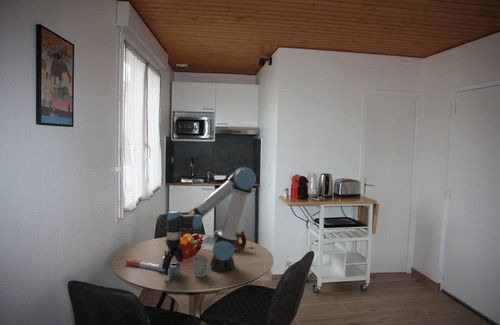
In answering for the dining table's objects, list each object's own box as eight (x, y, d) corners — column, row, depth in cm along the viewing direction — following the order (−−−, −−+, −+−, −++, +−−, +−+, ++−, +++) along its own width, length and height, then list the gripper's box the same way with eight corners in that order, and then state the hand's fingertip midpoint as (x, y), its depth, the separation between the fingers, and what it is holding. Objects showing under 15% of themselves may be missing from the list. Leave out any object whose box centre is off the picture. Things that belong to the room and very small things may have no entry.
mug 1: (200, 271, 190) (200, 254, 190) (215, 277, 182) (215, 260, 182) (189, 275, 184) (190, 258, 183) (204, 281, 176) (204, 263, 175)
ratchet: (172, 269, 192) (172, 256, 192) (165, 273, 186) (166, 259, 185) (131, 262, 202) (131, 249, 202) (124, 266, 195) (124, 253, 195)
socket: (180, 275, 183) (180, 263, 183) (174, 279, 178) (174, 267, 177) (171, 274, 185) (171, 262, 184) (166, 277, 179) (166, 265, 179)
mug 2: (227, 246, 239) (228, 227, 238) (248, 249, 234) (248, 229, 233) (221, 251, 229) (222, 230, 228) (243, 254, 223) (244, 233, 223)
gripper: (179, 232, 193) (178, 268, 193) (155, 243, 170) (155, 283, 171) (189, 234, 190) (189, 270, 191) (167, 244, 168) (166, 285, 169)
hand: (173, 276), depth 181 cm, fingers open, 11 cm apart
